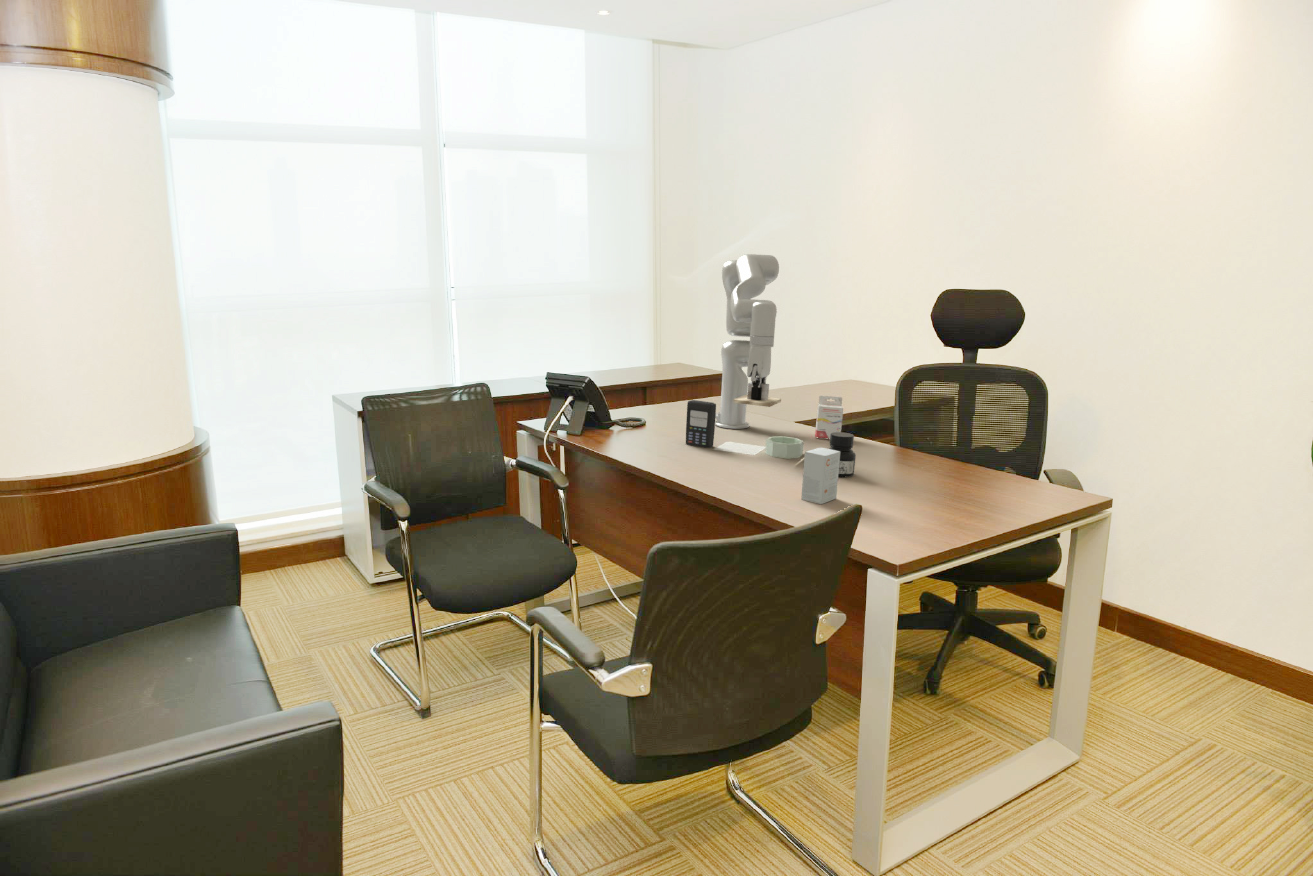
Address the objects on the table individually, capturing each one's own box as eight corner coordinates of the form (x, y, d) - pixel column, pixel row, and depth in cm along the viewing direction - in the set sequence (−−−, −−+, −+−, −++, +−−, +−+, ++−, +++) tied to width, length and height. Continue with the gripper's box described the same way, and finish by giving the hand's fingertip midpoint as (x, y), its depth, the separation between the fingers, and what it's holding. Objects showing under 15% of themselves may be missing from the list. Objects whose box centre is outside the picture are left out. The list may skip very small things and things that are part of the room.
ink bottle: (819, 475, 251) (823, 435, 249) (824, 468, 259) (828, 430, 257) (853, 479, 248) (857, 439, 245) (857, 473, 256) (861, 433, 254)
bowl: (762, 456, 271) (763, 441, 270) (771, 449, 281) (772, 435, 280) (796, 461, 267) (797, 445, 266) (804, 454, 277) (806, 439, 276)
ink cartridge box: (815, 438, 302) (819, 397, 299) (814, 435, 307) (818, 395, 304) (840, 440, 301) (844, 399, 298) (839, 437, 306) (842, 396, 303)
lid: (733, 402, 271) (734, 383, 270) (745, 397, 282) (747, 379, 281) (769, 406, 266) (771, 387, 265) (781, 401, 277) (782, 383, 276)
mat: (712, 450, 276) (713, 449, 276) (727, 442, 289) (727, 441, 288) (754, 456, 271) (754, 455, 270) (767, 448, 283) (767, 446, 283)
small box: (815, 493, 231) (819, 446, 228) (836, 498, 227) (841, 451, 225) (800, 499, 225) (804, 451, 222) (821, 504, 221) (826, 455, 218)
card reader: (683, 445, 281) (685, 400, 278) (688, 443, 285) (691, 399, 282) (709, 449, 277) (711, 404, 274) (714, 447, 281) (716, 402, 277)
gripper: (758, 338, 279) (754, 394, 283) (741, 342, 264) (738, 401, 268) (780, 340, 276) (776, 397, 280) (765, 344, 261) (760, 403, 265)
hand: (757, 398), depth 274 cm, fingers closed on lid, 3 cm apart
